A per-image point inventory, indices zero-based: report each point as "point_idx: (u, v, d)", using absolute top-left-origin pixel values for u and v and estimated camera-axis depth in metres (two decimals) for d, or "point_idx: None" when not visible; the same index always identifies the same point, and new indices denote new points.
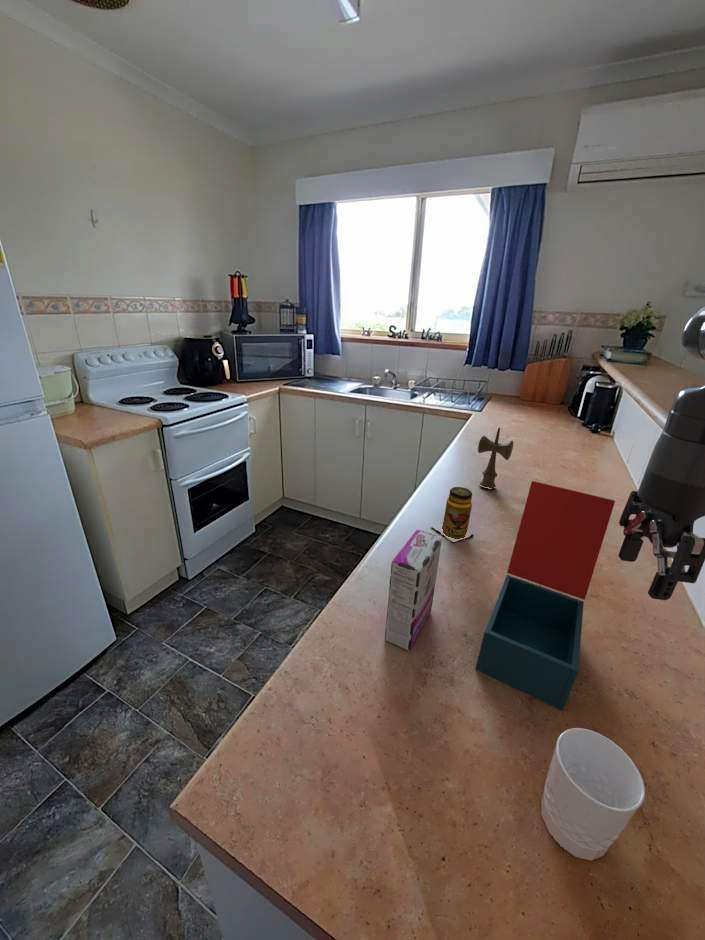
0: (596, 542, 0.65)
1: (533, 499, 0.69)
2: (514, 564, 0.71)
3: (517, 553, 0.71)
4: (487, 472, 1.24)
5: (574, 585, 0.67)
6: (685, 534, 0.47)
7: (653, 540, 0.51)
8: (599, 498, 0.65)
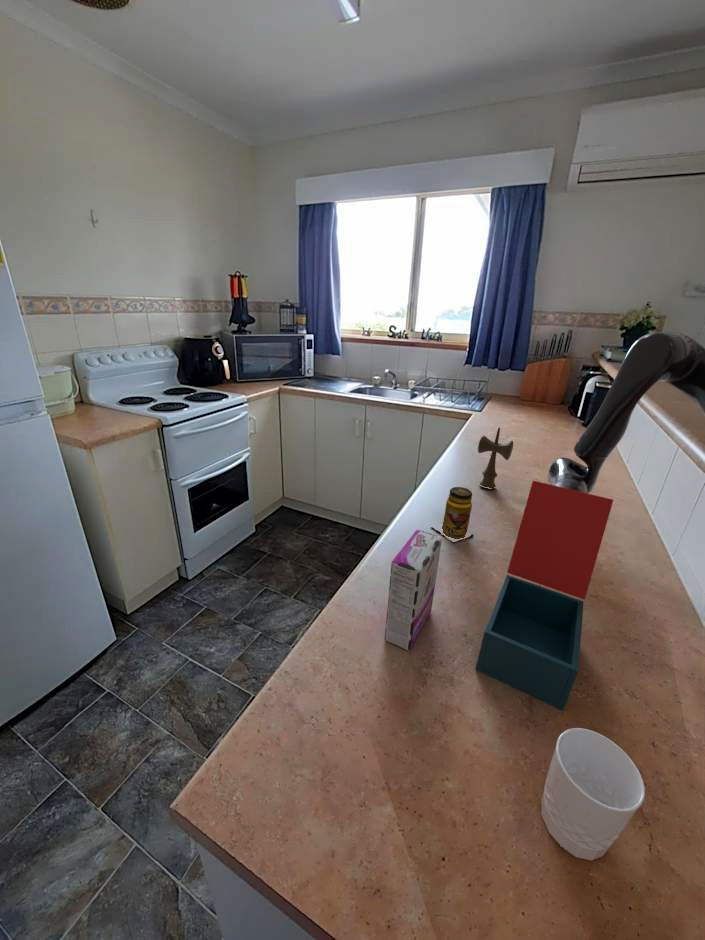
0: (595, 540, 0.66)
1: (534, 498, 0.71)
2: (514, 563, 0.72)
3: (517, 552, 0.72)
4: (487, 472, 1.24)
5: (574, 584, 0.67)
6: None
7: None
8: (598, 497, 0.67)
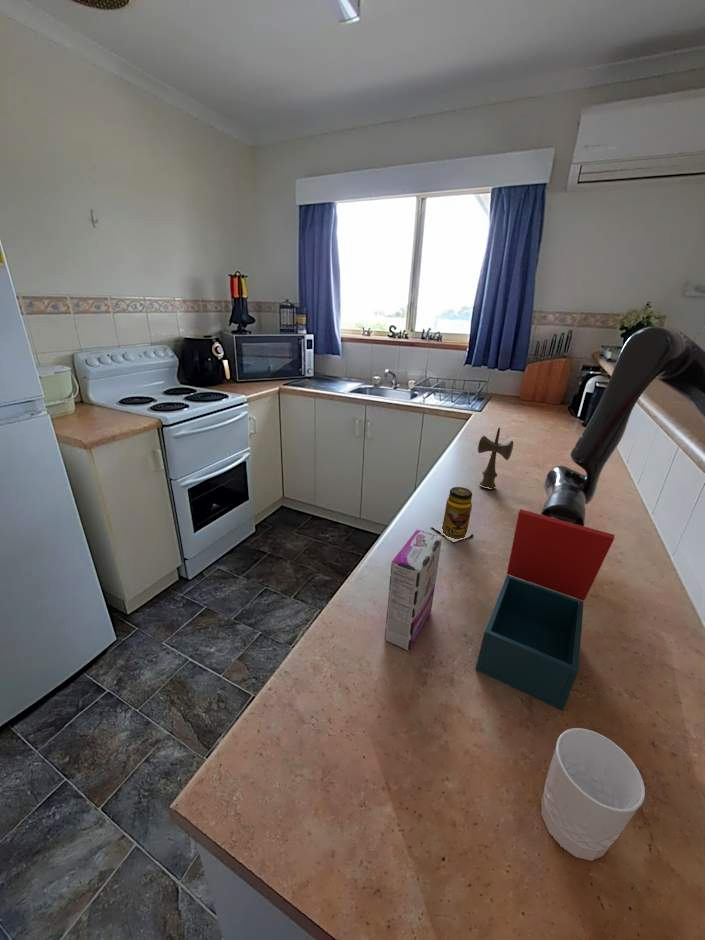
0: (594, 566, 0.60)
1: (523, 526, 0.62)
2: (512, 569, 0.71)
3: (514, 563, 0.69)
4: (487, 472, 1.24)
5: (573, 591, 0.66)
6: None
7: None
8: (596, 534, 0.56)
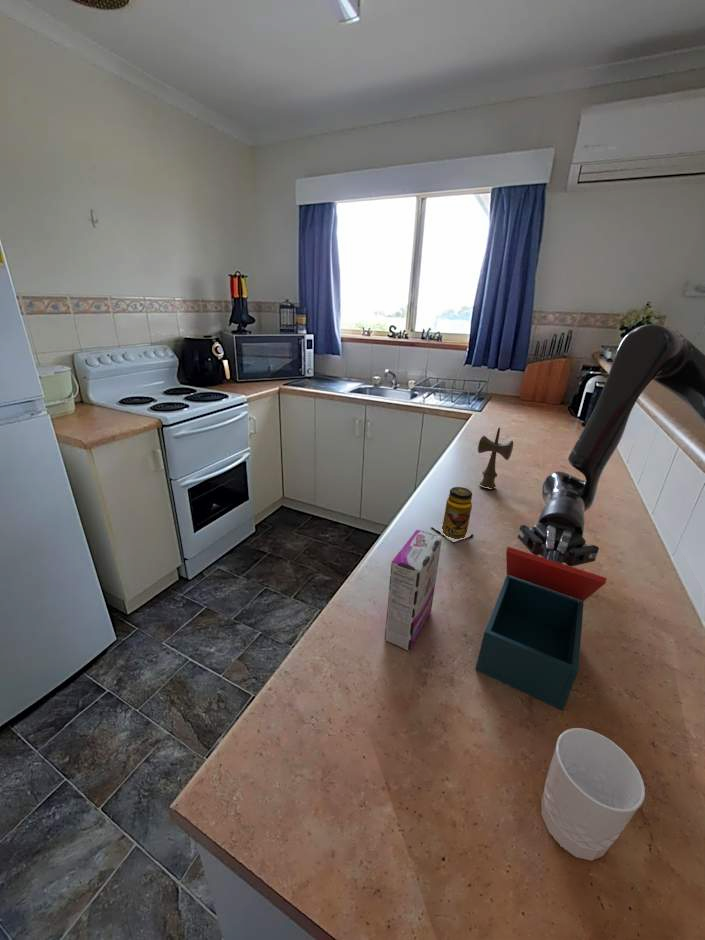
0: (588, 590, 0.59)
1: (513, 558, 0.60)
2: (511, 574, 0.70)
3: (511, 571, 0.69)
4: (487, 472, 1.24)
5: (572, 595, 0.66)
6: None
7: None
8: (586, 577, 0.53)
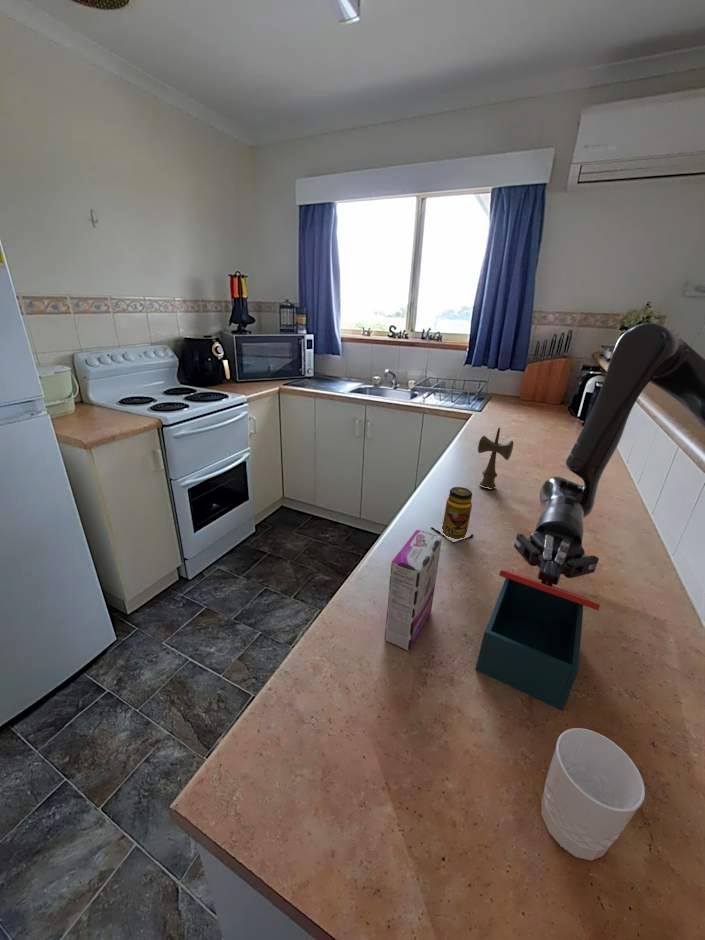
0: None
1: None
2: None
3: None
4: (487, 472, 1.24)
5: None
6: None
7: None
8: (579, 603, 0.52)
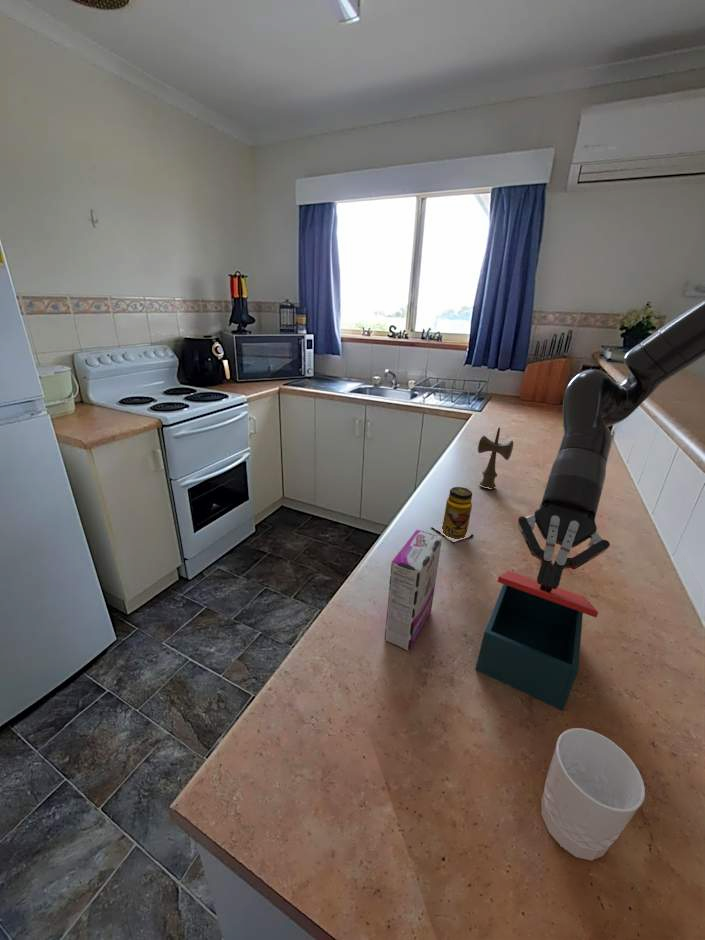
0: None
1: None
2: None
3: None
4: (487, 472, 1.24)
5: None
6: None
7: None
8: (577, 610, 0.52)
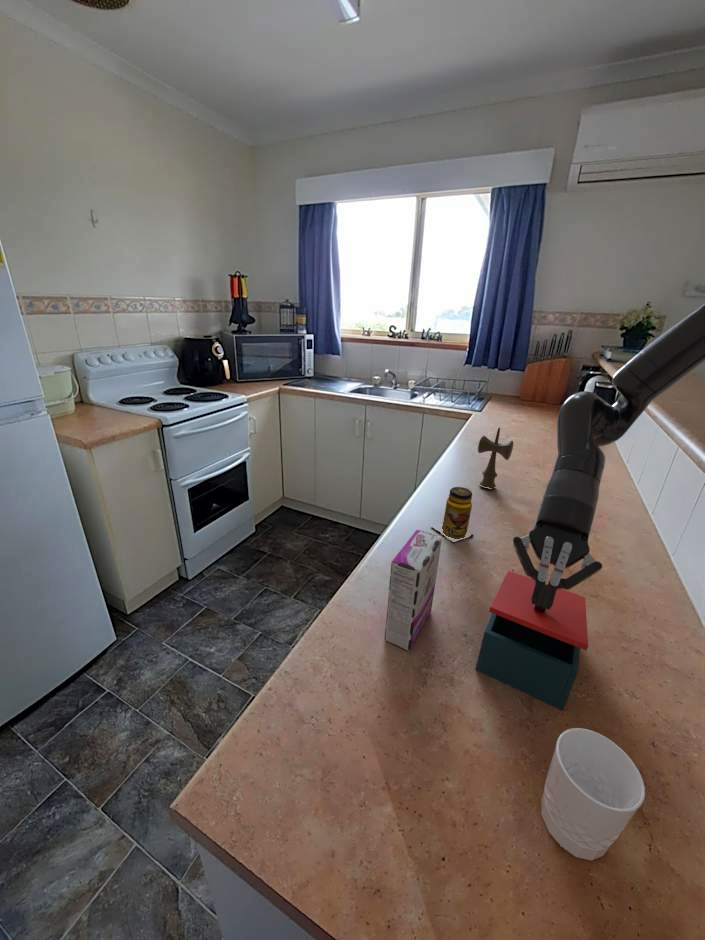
0: None
1: None
2: None
3: None
4: (487, 472, 1.24)
5: None
6: None
7: None
8: (568, 643, 0.53)
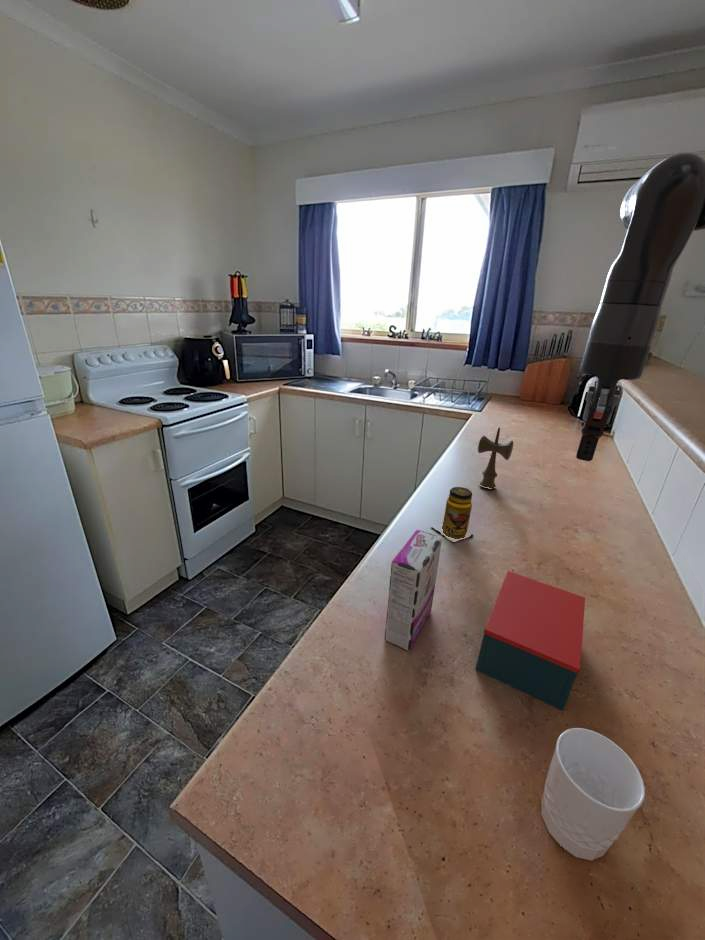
0: None
1: None
2: None
3: None
4: (487, 472, 1.24)
5: None
6: (598, 400, 0.53)
7: None
8: None
